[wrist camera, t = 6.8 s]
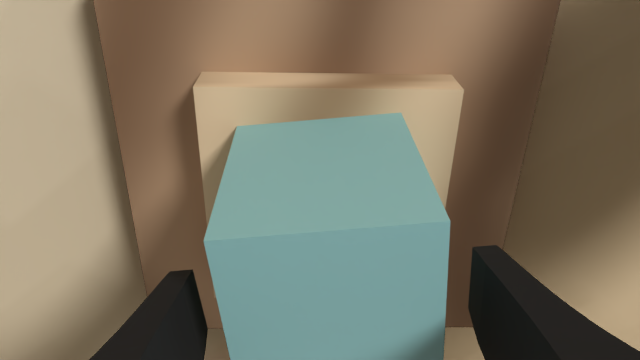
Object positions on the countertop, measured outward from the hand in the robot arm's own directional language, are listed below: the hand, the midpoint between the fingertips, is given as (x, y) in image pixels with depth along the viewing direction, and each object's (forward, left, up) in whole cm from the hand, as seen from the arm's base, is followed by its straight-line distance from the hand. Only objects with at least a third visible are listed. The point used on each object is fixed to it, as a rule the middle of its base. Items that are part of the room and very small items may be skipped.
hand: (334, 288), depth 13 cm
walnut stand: (0, 0, -7) cm, 7 cm away
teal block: (0, 0, -4) cm, 4 cm away
